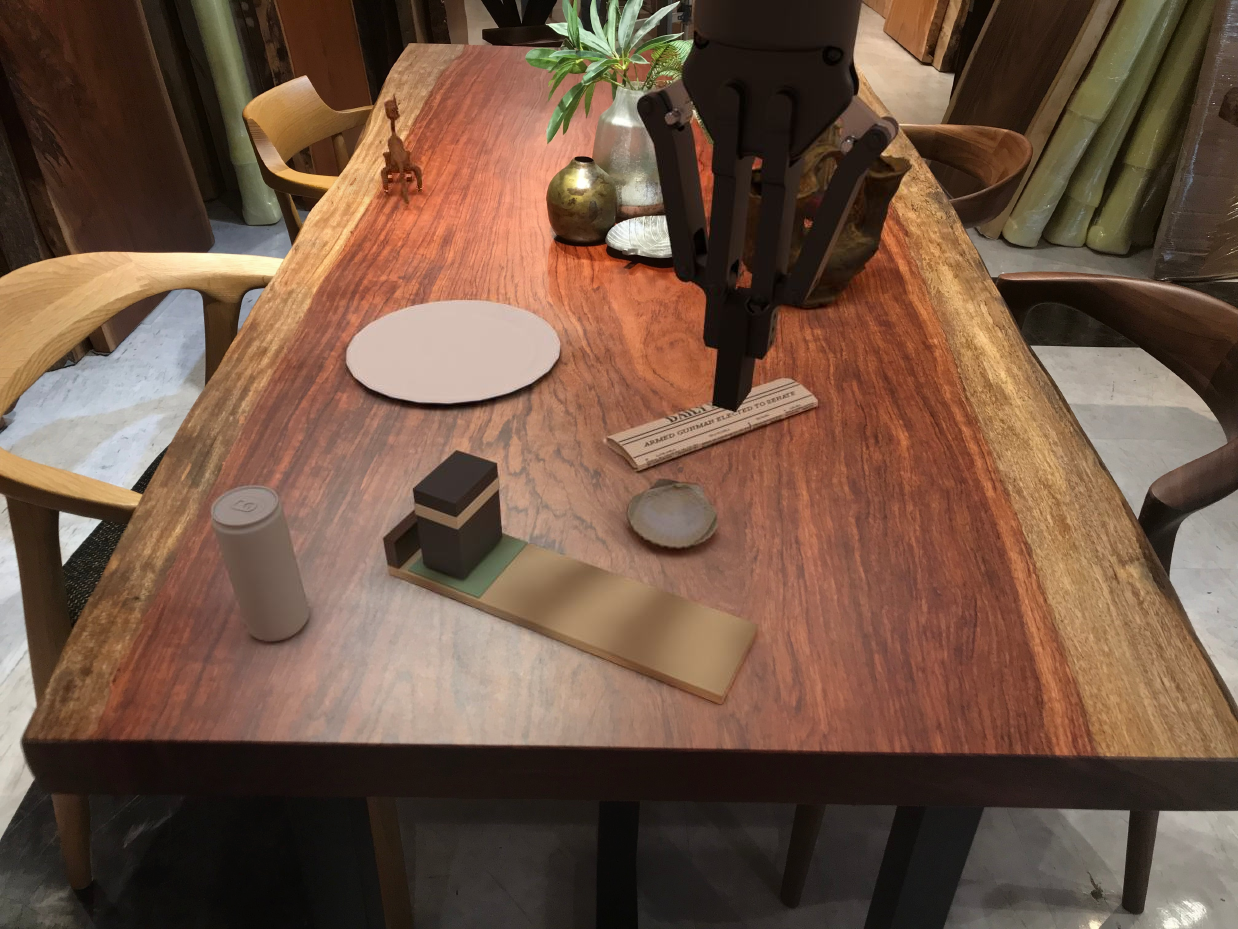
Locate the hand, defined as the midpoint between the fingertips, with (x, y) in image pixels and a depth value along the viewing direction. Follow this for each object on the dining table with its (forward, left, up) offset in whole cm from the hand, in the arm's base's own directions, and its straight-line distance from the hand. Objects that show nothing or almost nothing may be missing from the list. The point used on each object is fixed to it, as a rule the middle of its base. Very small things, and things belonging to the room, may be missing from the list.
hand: (731, 397), depth 53 cm
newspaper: (+34, +6, -25) cm, 43 cm away
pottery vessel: (+70, 0, -25) cm, 74 cm away
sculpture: (+102, +2, -25) cm, 105 cm away
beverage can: (-5, +33, -25) cm, 41 cm away
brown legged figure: (+87, +70, -25) cm, 114 cm away
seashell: (+16, +6, -25) cm, 30 cm away
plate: (+39, +38, -25) cm, 60 cm away
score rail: (+4, +12, -24) cm, 27 cm away
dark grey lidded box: (+6, +22, -23) cm, 32 cm away
